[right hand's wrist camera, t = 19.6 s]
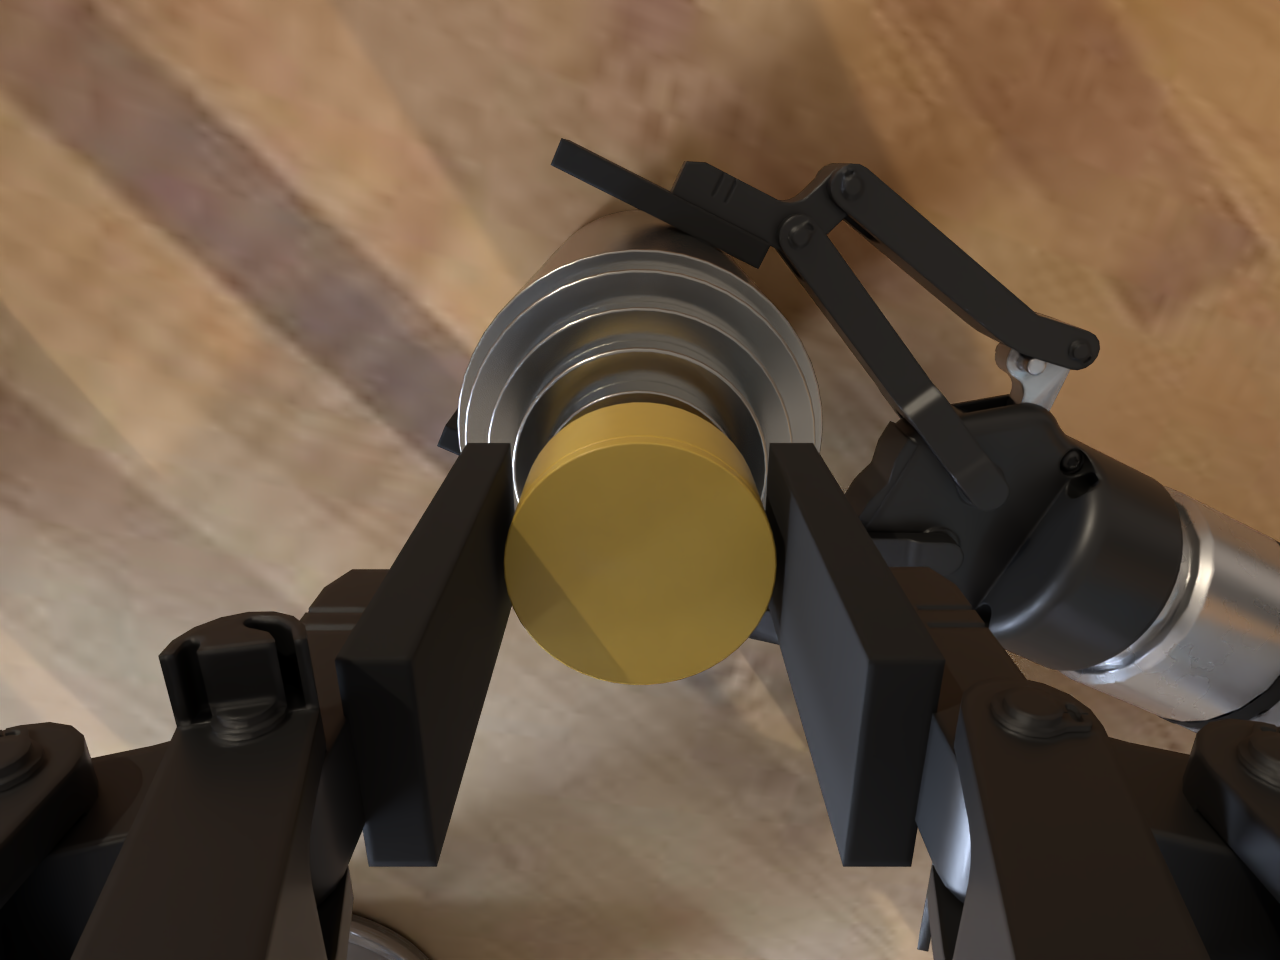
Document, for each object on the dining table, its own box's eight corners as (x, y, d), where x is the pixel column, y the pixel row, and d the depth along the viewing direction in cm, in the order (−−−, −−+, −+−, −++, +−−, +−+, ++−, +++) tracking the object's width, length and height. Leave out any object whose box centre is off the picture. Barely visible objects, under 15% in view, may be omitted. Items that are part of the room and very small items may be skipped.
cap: (740, 380, 13) (758, 419, 11) (772, 597, 15) (792, 663, 13) (496, 425, 14) (472, 469, 12) (551, 632, 15) (538, 703, 13)
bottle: (508, 381, 33) (331, 681, 14) (573, 176, 30) (459, 203, 11) (699, 448, 34) (773, 809, 15) (779, 256, 31) (996, 405, 12)
